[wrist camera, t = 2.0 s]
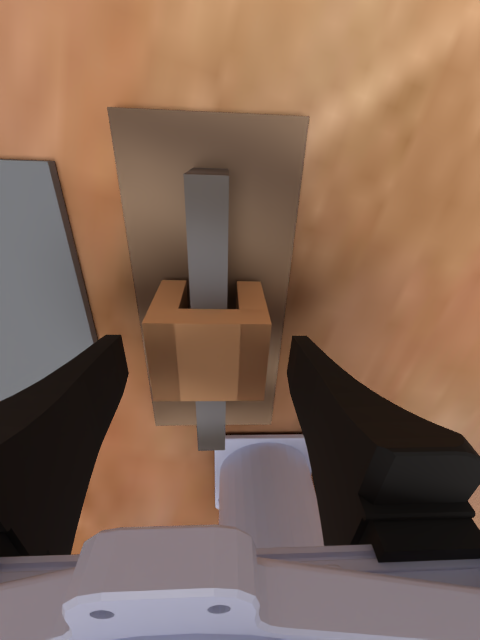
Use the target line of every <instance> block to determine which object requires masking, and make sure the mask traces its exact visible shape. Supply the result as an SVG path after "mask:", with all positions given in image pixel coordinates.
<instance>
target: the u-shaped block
mask: <svg viewBox="0 0 480 640" xmlns="http://www.w3.org/2000/svg"><path fill="white" fill-rule="evenodd" d="M271 327H272V323H271V320H270V316H269V312H268V308H267V304H266V300H265V297H264V293H263V289H262V285H261V282H257V281H237V290H236V309H188V297H187V280H162V281H161V283H160V285H159V288H158V290H157V292H156V294H155V296H154V298H153V300H152V302H151V305H150V307H149V309H148V311H147V313H146V315H145V317H144V319H143V321H142V329H143V336H144V343H145V349H146V356H147V363H148V369H149V376H150V383H151V389H152V396H153V401H264V396H265V386H266V376H267V366H268V356H269V346H270V337H271Z"/></svg>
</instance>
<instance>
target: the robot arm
mask: <svg viewBox="0 0 480 640" xmlns="http://www.w3.org/2000/svg"><path fill="white" fill-rule="evenodd" d="M128 374H129V373H128V368H127V362H126V357H125V352H124V347H123V342H122V337H121V335H105V336H104V337H102V338H101V339H99V340H98V341H96V342H95V343H94V344H92V345H91V346H90V347H88V348H87V349H85V350H84V351H83V352H81V353H80V354H79V355H77V356H76V357H74V358H73V359H72V360H70V361H69V362H67V363H66V364H64V365H63V366H61V367H60V368H58V369H57V370H55V371H54V372H52V373H51V374H49V375H48V376H46V377H45V378H43V379H41V380H40V381H38V382H36V383H34V384H33V385H31V386H29V387H27V388H25V389H24V390H22V391H20V392H18V393H16V394H14V395H12V396H10V397H8V398H6V399H4V400H2V401H0V640H480V530H479V529H478V527H477V526H476V524H475V523H474V521H473V520H472V518H474V516H475V511H474V510H473V508H472V507H471V505H470V504H469V502H468V499H469V498H470V497H471V495H472V494H473V493H474V491H475V490H476V489H477V487H478V486H479V485H480V456H479V455H478V454H477V452H476V451H475V450H474V449H473V447H472V446H471V445H470V444H469V443H468V441H467V440H466V439H465V438H464V437H463V435H462V434H459V433H457V432H454V431H452V430H449V429H447V428H444V427H442V426H439V425H437V424H435V423H432V422H430V421H427V420H425V419H423V418H421V417H419V416H417V415H415V414H413V413H411V412H409V411H407V410H405V409H403V408H401V407H399V406H397V405H395V404H393V403H392V402H390V401H388V400H386V399H385V398H383V397H381V396H380V395H378V394H376V393H375V392H373V391H372V390H370V389H369V388H367V387H366V386H364V385H363V384H361V383H360V382H359V381H357V380H356V379H355V378H353V377H352V376H351V375H349V374H348V373H347V372H346V371H344V370H343V369H342V368H341V367H340V366H338V365H337V364H336V363H335V362H334V361H333V360H332V359H330V358H329V357H328V356H327V355H326V354H325V353H324V352H323V351H322V350H321V349H320V348H319V347H318V346H317V345H316V344H315V343H313V342H312V341H311V340H310V339H309V338H308V337H307V336H292V341H291V348H290V355H289V362H288V369H287V377H288V383H289V389H290V394H291V397H292V401H293V404H294V407H295V410H296V413H297V417H298V420H299V423H300V426H301V429H302V433H303V434H283V435H225V450H215V507H216V508H217V509H219V525H187V526H153V527H120V528H115V529H109V530H103V531H100V532H99V533H97V534H96V535H94V536H93V537H91V538H90V539H88V540H87V541H85V542H84V544H83V547H82V550H81V553H80V554H77V555H71V551H72V547H73V542H74V538H75V534H76V530H77V526H78V522H79V518H80V514H81V510H82V507H83V503H84V499H85V496H86V492H87V489H88V485H89V482H90V478H91V475H92V472H93V468H94V465H95V462H96V459H97V456H98V452H99V450H100V447H101V445H102V442H103V440H104V437H105V435H106V433H107V430H108V428H109V426H110V423H111V421H112V419H113V417H114V414H115V412H116V410H117V407H118V405H119V403H120V400H121V398H122V395H123V392H124V389H125V385H126V382H127V378H128ZM311 473H312V476H313V481H314V486H313V482H312V478H311ZM314 487H315V490H314ZM315 492H316V494H315Z"/></svg>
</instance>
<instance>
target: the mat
mask: <svg viewBox="0 0 480 640" xmlns="http://www.w3.org/2000/svg"><path fill="white" fill-rule="evenodd" d="M96 341H98V339H97V335H96V331H95V327H94V322H93V318H92V314H91V310H90V306H89V302H88V298H87V294H86V289H85V285H84V281H83V277H82V273H81V269H80V265H79V261H78V256H77V252H76V248H75V244H74V240H73V236H72V232H71V228H70V223H69V219H68V215H67V211H66V207H65V203H64V199H63V195H62V190H61V186H60V182H59V178H58V174H57V170H56V166H55V162H54V161H39V160H11V159H0V401H2V400H4V399H6V398H8V397H10V396H12V395H14V394H16V393H18V392H20V391H22V390H24V389H25V388H27V387H29V386H31V385H33V384H34V383H36V382H38V381H40V380H41V379H43V378H45V377H46V376H48V375H49V374H51V373H52V372H54V371H55V370H57V369H58V368H60V367H61V366H63V365H64V364H66V363H67V362H69V361H70V360H72V359H73V358H74V357H76V356H77V355H79V354H80V353H81V352H83V351H84V350H85V349H87V348H88V347H90V346H91V345H92V344H94V343H95V342H96Z"/></svg>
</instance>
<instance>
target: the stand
mask: <svg viewBox="0 0 480 640" xmlns="http://www.w3.org/2000/svg"><path fill="white" fill-rule="evenodd" d="M107 110H108V116H109V123H110V129H111V136H112V142H113V149H114V156H115V162H116V169H117V175H118V182H119V188H120V195H121V201H122V208H123V214H124V221H125V228H126V234H127V241H128V247H129V254H130V260H131V267H132V273H133V280H134V287H135V293H136V300H137V306H138V313H139V319H140V326H141V332H142V339H143V345H144V352H145V359H146V365H147V372H148V378H149V385H150V391H151V398H152V404H153V411H154V417H155V424H156V426H169V425H197V437H198V451H207V450H225V425H267V424H271V421H272V412H273V404H274V396H275V388H276V380H277V372H278V364H279V356H280V348H281V340H282V332H283V324H284V316H285V308H286V300H287V292H288V284H289V276H290V268H291V260H292V252H293V244H294V236H295V228H296V220H297V212H298V204H299V196H300V188H301V180H302V172H303V164H304V156H305V148H306V140H307V132H308V124H309V116H289V115H268V114H246V113H224V112H203V111H181V110H159V109H138V108H116V107H107ZM162 280H187V297H188V309H236V290H237V281H257V282H261V285H262V289H263V293H264V297H265V300H266V304H267V308H268V312H269V316H270V320H271V323H272V327H271V337H270V346H269V356H268V366H267V376H266V386H265V396H264V401H153V396H152V389H151V383H150V376H149V369H148V363H147V356H146V349H145V343H144V336H143V329H142V321H143V319H144V317H145V315H146V313H147V311H148V309H149V307H150V305H151V302H152V300H153V298H154V296H155V294H156V292H157V290H158V288H159V285H160V283H161V281H162Z"/></svg>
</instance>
